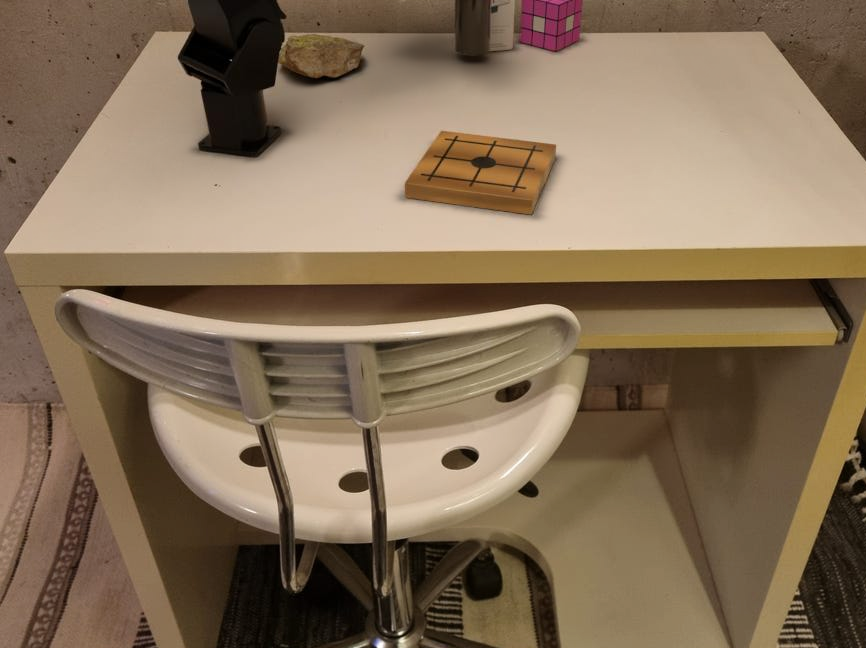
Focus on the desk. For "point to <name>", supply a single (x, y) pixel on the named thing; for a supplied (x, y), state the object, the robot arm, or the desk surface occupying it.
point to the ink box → (502, 24)
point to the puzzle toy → (550, 23)
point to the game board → (482, 172)
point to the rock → (320, 55)
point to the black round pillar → (472, 26)
